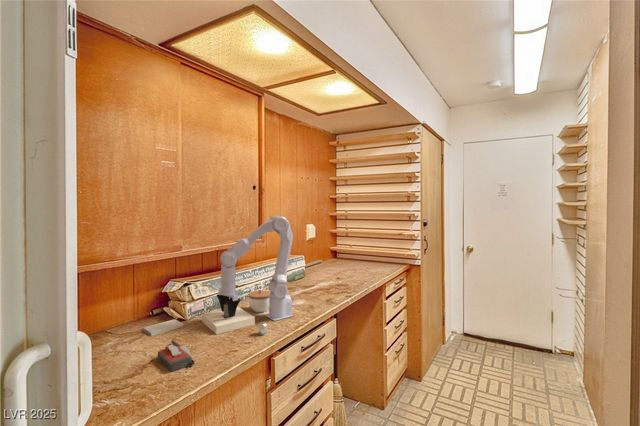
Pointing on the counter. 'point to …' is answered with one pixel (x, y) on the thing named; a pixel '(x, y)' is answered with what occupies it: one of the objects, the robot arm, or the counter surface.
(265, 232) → the robot arm
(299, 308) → the counter surface
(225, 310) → the tall pin
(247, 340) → the counter surface
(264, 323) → the short pin
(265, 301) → the lidded jar
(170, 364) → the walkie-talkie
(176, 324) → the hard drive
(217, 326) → the hole block
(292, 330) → the counter surface
